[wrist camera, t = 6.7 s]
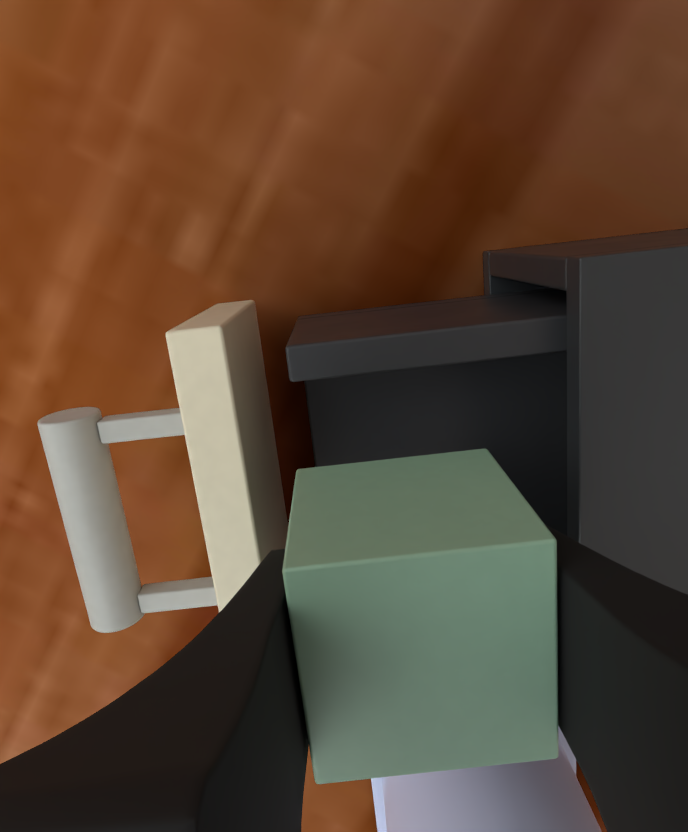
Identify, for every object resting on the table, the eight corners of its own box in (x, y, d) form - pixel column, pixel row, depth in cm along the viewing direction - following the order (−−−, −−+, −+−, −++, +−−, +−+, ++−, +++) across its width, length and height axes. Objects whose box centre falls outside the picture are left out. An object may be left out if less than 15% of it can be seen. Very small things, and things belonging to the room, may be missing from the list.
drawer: (142, 615, 21) (74, 750, 15) (72, 319, 18) (-43, 355, 12) (623, 562, 20) (731, 679, 15) (631, 256, 18) (769, 263, 12)
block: (494, 613, 14) (559, 760, 10) (318, 632, 14) (315, 786, 10) (487, 446, 12) (558, 538, 9) (295, 467, 12) (280, 569, 9)
